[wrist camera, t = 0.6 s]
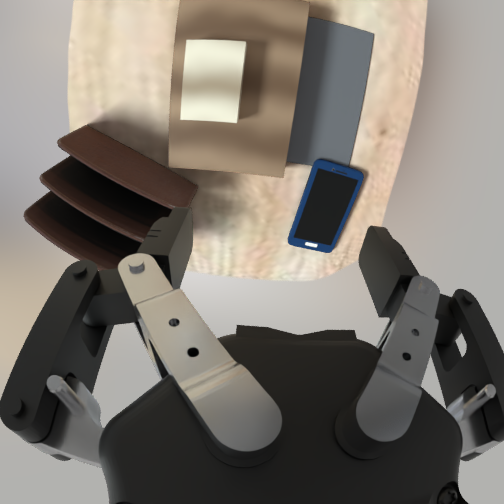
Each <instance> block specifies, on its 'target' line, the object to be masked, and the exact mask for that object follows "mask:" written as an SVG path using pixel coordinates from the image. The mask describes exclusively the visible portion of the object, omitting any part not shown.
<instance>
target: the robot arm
mask: <svg viewBox="0 0 504 504" xmlns="http://www.w3.org/2000/svg"><path fill="white" fill-rule="evenodd" d="M192 246H193V225H192V209H191V208H186V207H174V208H173V210H172V212H171V214H170V215H169V217H162V218H160V219H159V220H157V221H156V222H154V224H153V225H152V227H151V229H150V231H149V232H148V234H147V237H145V239H144V241H143V242H142V244H141V246H140V247H139V249H138V251H137V253H136V254H132V255H129V256H127V257H125V258H124V259H123V260H122V261H121V262H120V263H119V265H118V268H115V269H108V270H100V271H98V268H97V265H96V263H94V262H93V261H90V260H81V261H77V262H75V263H73V264H71V265H70V266H69V267H68V268H67V269H66V270H65V272H64V273H63V275H62V276H61V278H60V279H59V281H58V283H57V284H56V286H55V288H54V289H53V291H52V293H51V294H50V296H49V298H48V299H47V301H46V303H45V305H44V307H43V308H42V310H41V312H40V314H39V316H38V317H37V319H36V321H35V323H34V325H33V327H32V329H31V331H30V333H29V335H28V337H27V339H26V341H25V343H24V345H23V347H22V349H21V351H20V353H19V356H18V358H17V360H16V362H15V365H14V367H13V369H12V372H11V374H10V377H9V379H8V382H7V384H6V387H5V389H4V392H3V395H2V397H1V400H0V417H1V420H2V422H3V423H4V424H5V426H6V427H8V428H9V429H10V430H12V431H13V432H14V433H16V434H17V435H19V436H20V437H21V438H22V439H23V440H24V441H26V442H27V443H29V444H31V445H32V446H34V447H35V448H37V449H39V450H40V451H42V452H44V453H46V454H49V455H51V456H53V457H55V458H56V459H59V460H62V461H66V460H70V459H75V460H78V461H81V462H84V463H87V464H90V465H93V466H97V467H100V468H102V470H103V473H104V476H105V479H106V483H107V488H108V494H109V504H468V503H467V502H466V501H465V500H464V499H463V498H462V496H461V494H460V492H459V487H458V472H459V464H460V459H461V460H463V461H469V460H471V459H473V458H475V457H477V456H479V455H481V454H482V453H484V452H486V451H488V450H489V449H491V448H493V447H494V446H496V445H497V444H499V443H500V442H502V441H503V440H504V353H503V350H502V348H501V346H500V344H499V342H498V340H497V337H496V335H495V333H494V331H493V329H492V327H491V325H490V323H489V321H488V320H487V318H486V316H485V314H484V312H483V310H482V308H481V306H480V305H479V303H478V301H477V300H476V298H475V297H474V296H473V295H472V294H471V293H469V292H468V291H466V290H464V289H457V290H456V291H455V293H454V294H453V296H452V297H449V296H446V295H443V294H440V290H439V288H438V286H437V285H436V284H435V283H434V282H433V281H432V280H430V279H428V278H427V277H424V276H420V275H419V273H418V271H417V270H416V268H415V267H414V265H413V263H412V262H411V260H409V257H408V255H407V254H406V252H405V250H404V249H403V247H402V246H401V245H400V244H399V243H398V242H397V241H396V240H394V239H393V238H392V236H391V235H390V233H389V232H388V230H387V229H386V228H384V227H378V226H370V227H369V228H368V230H367V233H366V236H365V239H364V242H363V245H362V248H361V251H360V254H359V266H360V269H361V271H362V274H363V276H364V279H365V282H366V284H367V287H368V289H369V292H370V295H371V297H372V300H373V303H374V305H375V308H376V310H377V313H378V316H379V317H389V318H390V320H389V322H388V324H387V325H386V328H385V330H384V332H383V334H382V336H381V338H380V340H379V342H378V344H377V346H376V347H375V346H373V345H372V344H369V343H367V342H365V341H362V340H359V339H357V338H356V334H355V330H325V331H320V332H314V333H309V334H304V335H296V334H292V333H287V332H284V331H280V330H276V329H272V328H269V327H257V326H244V325H237V329H236V334H231V335H226V336H223V337H220V338H216V337H215V335H214V334H213V332H212V331H211V330H210V329H209V327H208V326H207V324H206V323H205V322H204V320H203V319H202V318H201V316H200V315H199V313H198V312H197V311H196V309H195V308H194V307H193V305H192V304H191V302H190V301H189V299H188V298H187V297H186V295H185V294H184V292H183V291H182V290H181V289H180V285H181V282H182V279H183V276H184V273H185V270H186V267H187V264H188V261H189V258H190V255H191V252H192ZM125 323H134V325H135V327H136V329H137V332H138V334H139V336H140V338H141V340H142V342H143V344H144V346H145V348H146V350H147V352H148V354H149V356H150V358H151V360H152V362H153V365H154V367H155V369H156V371H157V373H158V375H159V377H160V379H161V381H160V382H158V383H157V384H156V385H155V386H153V387H152V388H151V389H149V390H148V391H147V392H146V393H144V394H143V395H142V396H141V397H139V398H138V399H137V400H136V401H134V402H133V403H132V404H130V405H129V406H128V407H126V408H125V409H124V410H122V411H121V412H120V413H118V414H117V415H116V416H115V417H113V418H112V419H111V420H110V421H109V422H108V424H107V425H106V427H105V428H102V426H101V422H100V413H101V412H100V406H99V404H98V402H97V400H96V399H95V398H94V397H93V395H92V392H93V389H94V385H95V382H96V379H97V375H98V372H99V369H100V365H101V362H102V359H103V356H104V353H105V350H106V347H107V344H108V341H109V338H110V335H111V332H112V329H113V327H114V325H117V324H125ZM461 333H462V334H463V336H464V339H465V341H466V344H467V350H466V353H465V355H464V356H463V357H461V354H460V351H459V349H458V346H457V344H456V341H455V340H456V339H457V338H458V337H459V335H460V334H461ZM430 354H431V357H432V360H433V363H434V366H435V369H436V373H437V376H438V380H439V383H440V387H441V390H442V394H443V398H444V401H445V405H446V409H447V410H446V409H445V408H444V407H443V406H441V405H440V404H439V403H438V402H437V401H436V400H435V399H434V398H433V397H432V396H431V395H430V394H428V393H427V392H426V391H425V390H424V389H423V388H422V387H421V383H422V380H423V377H424V374H425V371H426V368H427V364H428V361H429V358H430Z"/></svg>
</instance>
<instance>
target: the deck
mask: <svg viewBox="0 0 504 504" xmlns="http://www.w3.org/2000/svg"><path fill="white" fill-rule="evenodd" d="M309 5H310V2H306V1H301V0H180V3H179V10H178V18H177V25H176V34H175V43H174V53H173V65H172V78H171V93H170V114H169V168H186V169H201V170H213V171H225V172H235V173H245V174H254V175H262V176H271V177H279V178H283V177H284V171H285V165H286V159H287V153H288V147H289V141H290V135H291V129H292V122H293V116H294V110H295V103H296V97H297V90H298V83H299V77H300V70H301V63H302V56H303V49H304V42H305V35H306V28H307V20H308V13H309ZM186 40H230V41H245V42H247V50H246V58H245V66H244V75H243V83H242V92H241V101H240V110H239V120H238V122H237V123H230V122H217V121H200V120H180V118H181V99H182V84H183V71H184V60H185V50H186Z"/></svg>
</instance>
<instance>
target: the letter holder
mask: <svg viewBox="0 0 504 504" xmlns="http://www.w3.org/2000/svg"><path fill="white" fill-rule="evenodd" d="M57 143H58V146H59V147H60V148H61V149H62V150H64V151H65V152H67V153H68V154H70V155H71V156H69V157H68V158H66V159H64V160H63V161H61V162H60V163H58V164H57V165H55V166H53V167H52V168H50V169H49V170H47V171H46V172H44V173H43V174H41V176H40V181H41V183H42V184H44V185H45V186H46V187H47V188H48V189H49V190H50V192H48V193H47V194H46V195H44V196H43V197H42V198H41V199H39V200H38V201H36V202H35V203H34V204H33V205H32V206H30V207H29V208H28V209H27V210H26V211H25V212H24V218H25V221H26V222H27V223H28V224H29V225H31V226H32V227H33V228H34V229H35V230H36V231H37V232H39V233H40V234H41V235H42V236H44V237H45V238H46V239H47V240H49V241H50V242H52V243H53V244H55V245H56V246H57V247H59V248H60V249H62V250H64V251H65V252H67V253H68V254H70V255H72V256H73V257H75V258H77V259H79V260H80V261H81V260H90V261H93V262H94V263H96V265H97V268H98V270H99V271H100V270H108V269H115V268H118V265H119V263H120V262H121V261H122V260H123V259H124V258H125V257H127V256H129V255H132V254H136V253H137V251H138V249H139V247H140V246H141V244H142V242H143V241H144V239H145V237H147V234H148V232H149V231H150V229H151V227H152V225H153V224H154V222H156V221H157V220H159V219H160V218H162V217H169V215H170V214H171V212H172V210H173V208H174V207H186V208H189V205H190V203H191V201H192V199H193V197H194V195H195V193H196V191H197V189H198V186H197V185H195V184H193V183H192V182H190V181H188V180H186V179H185V178H183V177H181V176H180V175H178V174H176V173H174V172H172V171H170V170H169V169H167V168H165V167H163V166H162V165H160V164H158V163H156V162H154V161H152V160H151V159H149V158H147V157H145V156H143V155H142V154H140V153H138V152H136V151H134V150H133V149H131V148H129V147H127V146H125V145H123V144H121V143H119V142H118V141H116V140H114V139H112V138H110V137H108V136H106V135H104V134H102V133H100V132H98V131H96V130H94V129H93V128H91V127H89V126H86V125H85V126H83V127H81V128H79V129H77V130H75V131H73V132H71V133H69V134H68V135H66V136H64V137H62V138H60V139H59V140H58V141H57Z"/></svg>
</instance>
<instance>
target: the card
mask: <svg viewBox="0 0 504 504" xmlns="http://www.w3.org/2000/svg"><path fill="white" fill-rule="evenodd" d="M246 50H247V42H245V41H230V40H186V50H185V60H184V71H183V84H182V99H181V118H180V120H200V121H217V122H230V123H237V122H238V120H239V110H240V101H241V92H242V83H243V75H244V66H245V58H246Z"/></svg>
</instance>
